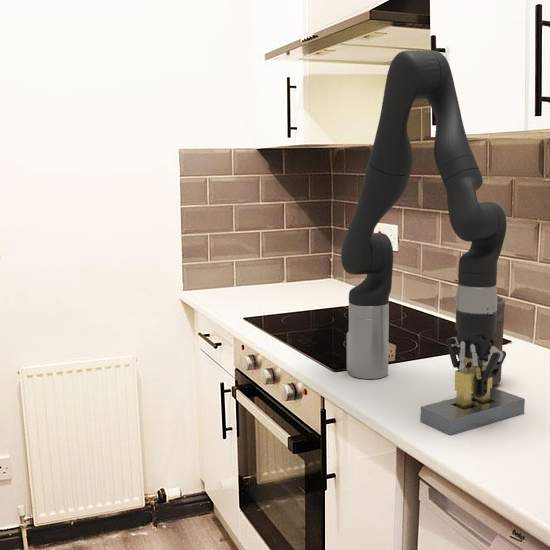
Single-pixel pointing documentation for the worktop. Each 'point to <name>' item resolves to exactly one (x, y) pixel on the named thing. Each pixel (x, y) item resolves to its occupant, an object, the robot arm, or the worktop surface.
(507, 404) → the grey slotted base
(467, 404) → the yellow block
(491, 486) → the worktop surface
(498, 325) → the brown cylinder
